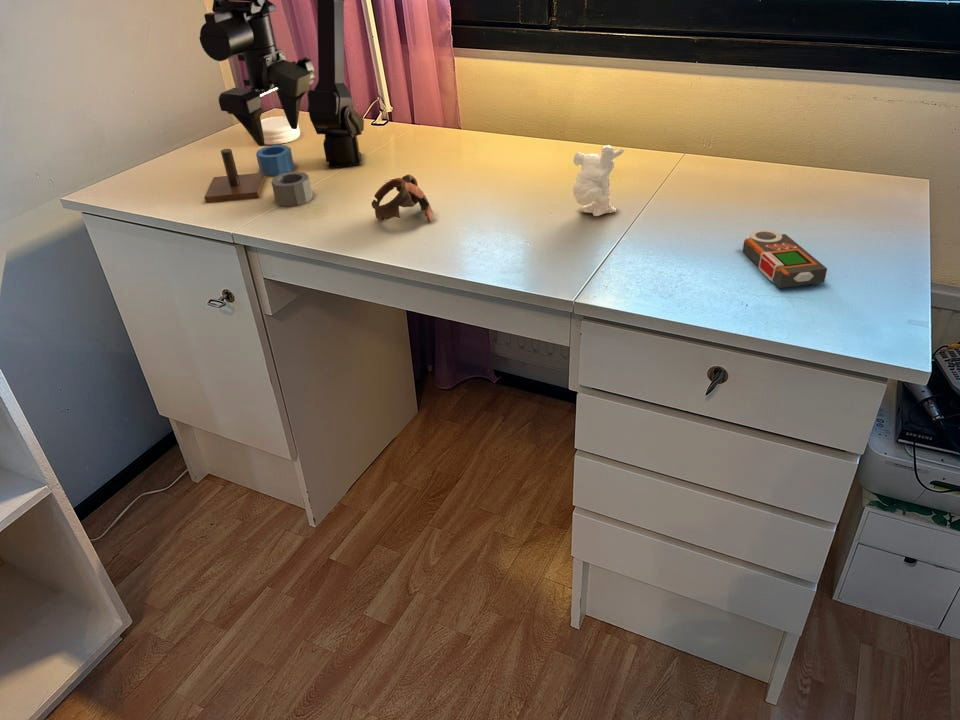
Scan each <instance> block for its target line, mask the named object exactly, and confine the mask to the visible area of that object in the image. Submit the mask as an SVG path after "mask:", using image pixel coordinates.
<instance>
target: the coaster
mask: <svg viewBox="0 0 960 720" xmlns="http://www.w3.org/2000/svg"><path fill="white" fill-rule="evenodd" d="M261 125H262V130H263V135H264V144H265V145H268V146H272V145H284V144H287V143H290V142H293V141H295V140H297V139H298V138H299V137H300V136H301V130H300V126H299V125H298V126H297V129H292V128H291V127H290V124H289V122H288V120H287V118H286V115H278V116H277V115H276V116H271V117H267V118H264V119H261Z"/></svg>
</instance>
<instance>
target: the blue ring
mask: <svg viewBox="0 0 960 720" xmlns="http://www.w3.org/2000/svg"><path fill="white" fill-rule="evenodd" d="M255 157H256V160H257V164H258V169H259V173H263V172H264V175H265V177H267V176H268V177H276V176H278V175H280V174H284V173H287V172H293V171H294V169H295V164H294V157H293V154H292V148H291V147H290V146H288V145H284V144H275V145H268V146H265V147H264V146H263V147H261V148H260V149H258V150H257V151H256V153H255Z"/></svg>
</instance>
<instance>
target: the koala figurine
mask: <svg viewBox="0 0 960 720" xmlns="http://www.w3.org/2000/svg"><path fill="white" fill-rule="evenodd" d="M624 152H625V149H624V148H619V149H617V150H615V147H613V145H610V144H605V145H603V146H601V152H600V153H599V154H598V153H586V154H584V153H583V152H582V151H581V152H580V151H578V152H576V153H575V154H574V155H573V163H574V165H575V166H577V167H580V166H581V168H580V170H578V173H577V174H576V177H575V182H574V183H573V187H572V193H573V198H574V200H575V203H577V204H578V205H581V206H582V207H581V209H580V210H581V212H582V213H588V214H592V215H593V216H594V217H599V216H602V215H604V214H610V213H616V212H617V209H616V208H615V207H614V206H613V205H611V204H610V198H611V196H610V195H611V190H610V185H611V184H610V183H611V182H610V181H611V179H610V176H611V173H612V171H613V170H614V168H615V160H614V159H616V158H618V157H620V156H621V155H622V154H623V153H624Z"/></svg>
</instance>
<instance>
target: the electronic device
mask: <svg viewBox="0 0 960 720" xmlns="http://www.w3.org/2000/svg"><path fill="white" fill-rule="evenodd" d="M742 246H743V247H742V253H743V254H744V255H745V256H746V257H747V258H748V259H749V260H750V261H752V263H753V264H755V265H756V266H757V268H758V271H760V272H761V274H762V275H764V276H765V277H766V278H767V279H768V280H769V281H770V283H774V284H775V285H776V286H777V287H778V288H779V289H781V288H789V287H797V286H805V285H813V284H823V283H825V281H826V276H827V271H828V267H826V266H825V265H824V264H822V263H821V262H820V261H819V260H818V259H817V258H815V257H814V256H813V255H811V253H809V252H808V251H807V250H806V249H804V248H803V247H802V246H801V245H799V244H798V243H797V242H796V241H795V240H793V238H791V237H790V236H789V235H788V234H786V233H783V234H781V233H780V232H778V231H775V230H772V229H755V230H753V231H751V232H750V233H749V238H745V239H744V240H743V245H742Z"/></svg>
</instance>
